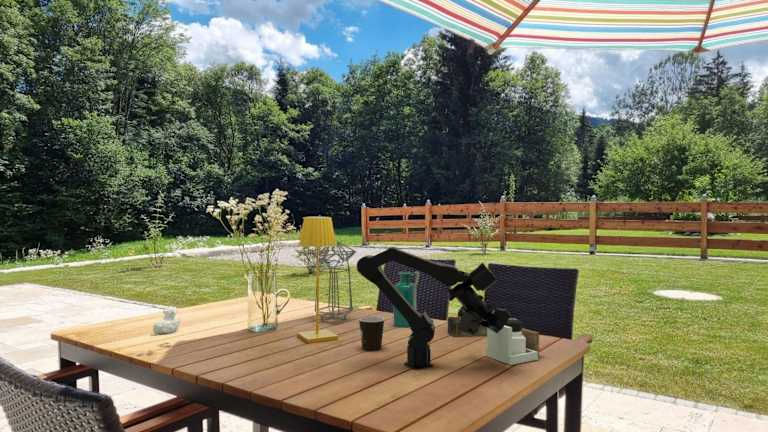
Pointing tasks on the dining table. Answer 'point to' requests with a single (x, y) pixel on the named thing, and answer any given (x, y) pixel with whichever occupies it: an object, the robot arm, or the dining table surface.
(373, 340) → the coffee mug
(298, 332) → the dining table surface
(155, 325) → the bust
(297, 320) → the dining table surface
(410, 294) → the teal tall bottle shape
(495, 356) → the white angle bracket
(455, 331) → the beverage carton
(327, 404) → the dining table surface
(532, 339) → the wall
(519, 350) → the medicine bottle
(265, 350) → the dining table surface
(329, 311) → the geometric lantern
